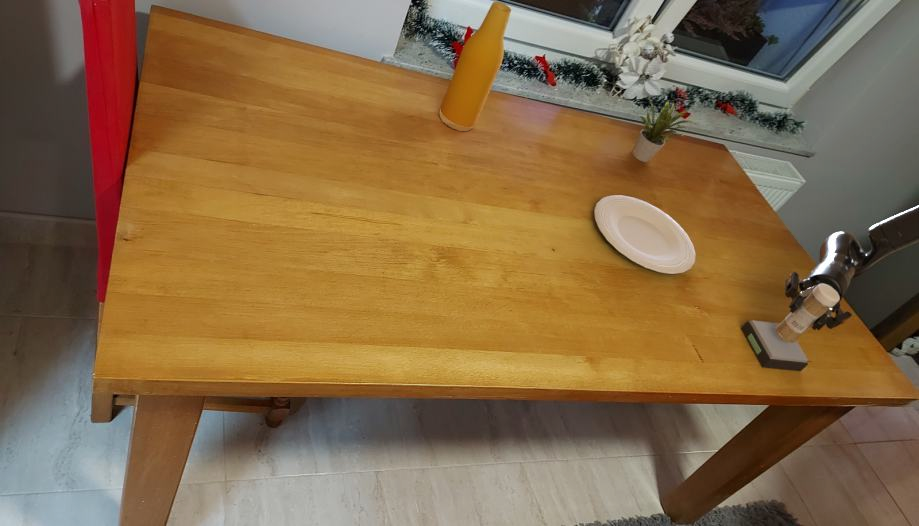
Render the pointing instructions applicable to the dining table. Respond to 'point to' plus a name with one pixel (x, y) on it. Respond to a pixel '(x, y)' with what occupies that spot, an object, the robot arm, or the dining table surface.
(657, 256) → the plate
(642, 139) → the house plant
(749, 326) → the scale
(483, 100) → the beer bottle
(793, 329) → the sprinkles bottle
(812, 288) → the robot arm
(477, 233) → the dining table surface
